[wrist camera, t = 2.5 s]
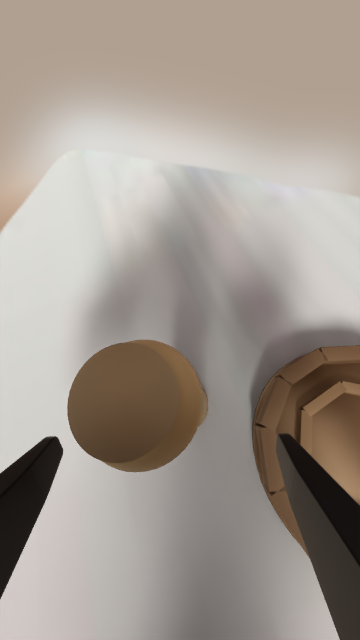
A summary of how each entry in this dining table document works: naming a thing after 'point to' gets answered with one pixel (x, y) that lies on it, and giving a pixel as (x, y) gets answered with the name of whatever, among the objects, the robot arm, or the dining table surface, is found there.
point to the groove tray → (311, 422)
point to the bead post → (136, 405)
